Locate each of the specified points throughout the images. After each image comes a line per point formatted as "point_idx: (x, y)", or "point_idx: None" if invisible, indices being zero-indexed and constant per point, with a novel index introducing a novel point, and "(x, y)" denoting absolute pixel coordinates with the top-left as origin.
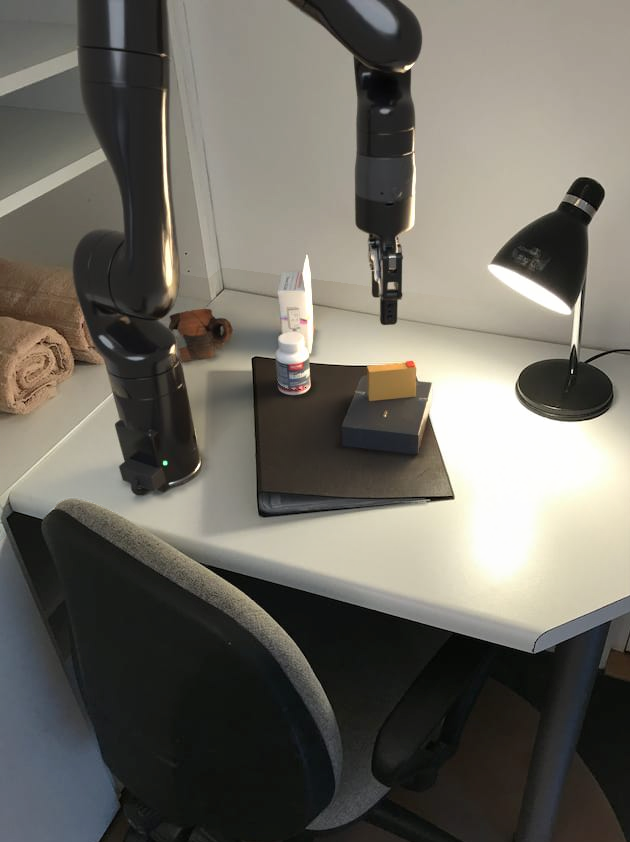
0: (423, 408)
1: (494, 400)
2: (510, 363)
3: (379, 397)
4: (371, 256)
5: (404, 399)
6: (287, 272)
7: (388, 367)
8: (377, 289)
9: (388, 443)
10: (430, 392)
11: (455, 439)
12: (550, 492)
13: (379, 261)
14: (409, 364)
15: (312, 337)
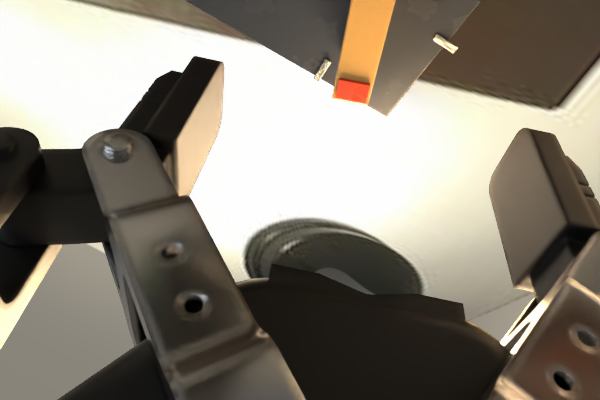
0: (285, 52)
1: (341, 190)
2: (441, 259)
3: None
4: (228, 365)
5: (339, 23)
6: None
7: (364, 20)
8: (522, 171)
9: None
10: None
11: (237, 76)
12: (75, 147)
13: (137, 359)
14: (347, 86)
15: None
